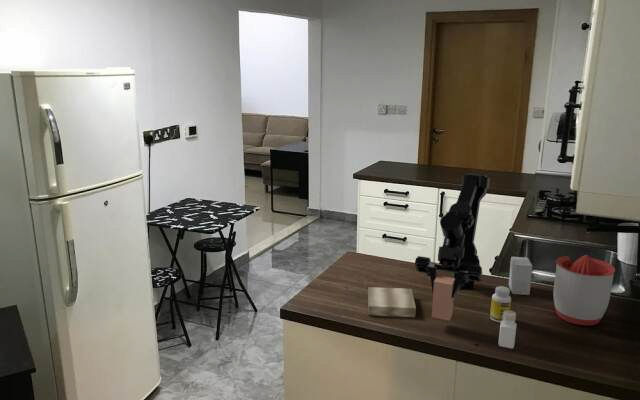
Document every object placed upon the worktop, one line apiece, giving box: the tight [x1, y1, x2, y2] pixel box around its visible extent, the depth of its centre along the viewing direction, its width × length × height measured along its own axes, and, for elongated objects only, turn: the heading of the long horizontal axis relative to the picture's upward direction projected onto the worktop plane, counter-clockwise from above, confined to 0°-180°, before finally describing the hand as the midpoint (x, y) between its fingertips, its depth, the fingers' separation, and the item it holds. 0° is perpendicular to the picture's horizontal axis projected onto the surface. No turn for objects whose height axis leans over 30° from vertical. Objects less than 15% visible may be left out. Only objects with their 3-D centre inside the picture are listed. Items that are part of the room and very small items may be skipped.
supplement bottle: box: [489, 285, 512, 324], centre depth 153 cm, size 5×5×10 cm
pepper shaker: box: [497, 309, 517, 350], centre depth 139 cm, size 4×4×10 cm
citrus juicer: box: [553, 254, 616, 326], centre depth 154 cm, size 16×17×20 cm
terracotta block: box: [431, 274, 455, 321], centre depth 148 cm, size 5×5×11 cm
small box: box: [508, 256, 533, 296], centre depth 174 cm, size 8×6×10 cm
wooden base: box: [367, 286, 417, 318], centre depth 162 cm, size 14×14×3 cm
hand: (442, 295), depth 146 cm, fingers closed on terracotta block, 5 cm apart
